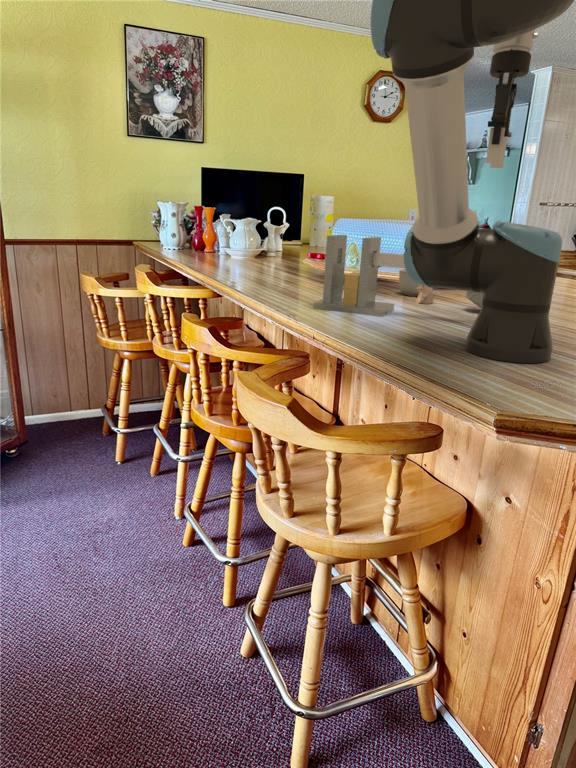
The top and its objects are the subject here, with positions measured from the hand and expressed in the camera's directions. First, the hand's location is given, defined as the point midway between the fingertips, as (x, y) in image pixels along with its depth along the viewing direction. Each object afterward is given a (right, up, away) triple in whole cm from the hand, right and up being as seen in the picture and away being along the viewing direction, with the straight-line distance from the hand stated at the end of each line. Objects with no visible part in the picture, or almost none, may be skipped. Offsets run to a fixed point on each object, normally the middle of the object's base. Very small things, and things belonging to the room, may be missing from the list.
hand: (494, 165), depth 116 cm
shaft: (-12, -20, +14) cm, 27 cm away
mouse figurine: (-5, -24, +37) cm, 45 cm away
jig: (-27, -28, +23) cm, 45 cm away
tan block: (-27, -23, +22) cm, 42 cm away
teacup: (-5, -19, +52) cm, 56 cm away
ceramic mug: (+8, -28, +29) cm, 41 cm away
